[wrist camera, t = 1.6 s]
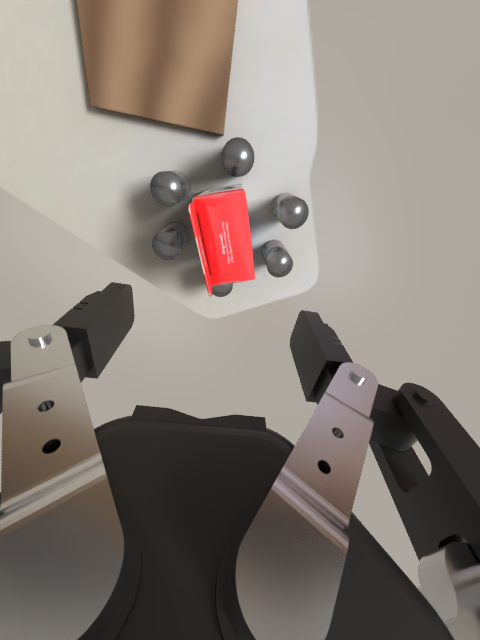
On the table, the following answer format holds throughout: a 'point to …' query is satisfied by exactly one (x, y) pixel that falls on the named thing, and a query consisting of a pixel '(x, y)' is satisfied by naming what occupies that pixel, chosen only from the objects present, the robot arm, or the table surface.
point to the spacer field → (237, 163)
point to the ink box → (223, 235)
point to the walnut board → (160, 58)
